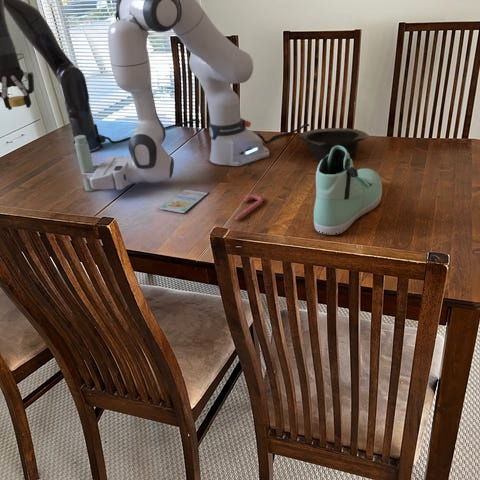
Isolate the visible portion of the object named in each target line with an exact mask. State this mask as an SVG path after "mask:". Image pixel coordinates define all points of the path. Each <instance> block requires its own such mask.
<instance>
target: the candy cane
mask: <svg viewBox="0 0 480 480" xmlns="http://www.w3.org/2000/svg"><path fill="white" fill-rule="evenodd" d="M252 200H255V201H256V202H253V204H251V205H250V206H248V207H247V208H245V209H244V210H243V211H242V212H239V214H237V215H236V216H235V219H234V220H235V221H238V222H239V221H240V220H242V219H243V218H244V217H245V216H247V215H248V214H249V213H251V212H252V211H254V210H255V209H256V208H258V207H259V206H260V205H262V204H263V202H264V199H263V197H262V196H260V195H257V194H251V195H247V196H245V197H243V203H245V204H246V203H248V202H249V201H252Z"/></svg>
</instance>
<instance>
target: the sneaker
mask: <svg viewBox="0 0 480 480" xmlns="http://www.w3.org/2000/svg"><path fill="white" fill-rule="evenodd" d="M317 165H318V166H317V168H316V172H315V201H314V207H313V225H314V229H315V231H316V232H318V233H320V234H323V235H326V236H327V235H328V236H336V235H339V234H342V233H344V232H345V231H347V230H348V229H349V228H350V227H351V226H352V225H353V224H354V222H356V221H357V220H358V219H359V218H360V217H362V216H363V215H365V214H367V213H370V212H372V210H374V209H375V208H377V207H378V205H380V203H381V200H382V196H383V184H382V183H383V182H382V179H381V176H380V175H379V173H378V172H377V171H376V170H374V169H372V168H367V167H365V168H358V169H357V168H355V167H354V161H353V159H352V158H351V156H349V153H348V152H347V150H346V149H345V148H344V147H342V146H334V147H333V148H332V149H331V152H330V154H329V155H327V156H326V157H325V158H324V159H322V160H321V161H319V163H318V164H317ZM343 230H344V231H343ZM319 231H320V232H319ZM322 232H323V233H322ZM339 232H340V233H339ZM326 233H327V234H326ZM328 233H329V234H328ZM335 233H337V234H335Z"/></svg>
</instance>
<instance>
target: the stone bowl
mask: <svg viewBox="0 0 480 480" xmlns="http://www.w3.org/2000/svg"><path fill="white" fill-rule="evenodd" d="M368 138H370V134H368V133H367V132H365V131H363V130H360V129H357V128H356V129H355V128H348V127H347V128H345V127H344V128H343V127H340V128H339V127H327V128H315V129H311V130H307V131H306V130H305V131H303V132H301V133H299V136H298V139H299V140H301V141H304V142H306V143H307V148H308V151H309V152H310V153H311V154H312V155H313V156H315V159H316V161H318V162H320V161H321V160H322V159H324V158H325V157H326V156H327V155H329V154H330V152H331V149H332V148H333V147H334V146H342V147H344V148H345V149H346V150H347V152H348V153H349V156H350V157H354V156H355V155H357V150H358V146H359V145H358V143H359V142H362V141H364V140H366V139H368Z"/></svg>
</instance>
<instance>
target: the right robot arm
mask: <svg viewBox="0 0 480 480" xmlns="http://www.w3.org/2000/svg"><path fill="white" fill-rule="evenodd" d="M114 17H115V21H114V22H112V23H110V25H109V27H108V29H107V43H108V45H107V46H108V53H109V60H110V66H111V71H112V75H113V77H114V80H115V82H116V85H117V86H118V87H119V88H121V90H123V91H125V92H127V93H129V94H131V96H132V98H133V102H134V107H135V111H136V115H137V123H136V127H135V128H134V131H133V133H132V135H131V136H130V137H131V138H130V139H129V140H128V146H127V147H128V152H129V155H130V156H124V155H107V156H105V157H104V158H103V160H102V161H101V162H100V163H96V164H93V167H94V173H92V174H91V173H88V172H84V173H83V174H82V173H81V178H82V180H83V179H89V180H90V184H91V187H92V188H93V189H97V190H112V189H116V190H117V191H118V190H119V191H120V190H123V189H125V188H126V187H127V186H130V185H131V184H139V183H142V182H143V183H149V184H150V183H159V182H165V181H168V180H170V179H171V178H172V177H173V174H174V169H175V168H174V167H175V161H174V157H173V156H171V155H170V154H169V153H168V152H167V151H166V149H165V148H164V147H163V145H162V144H163V142H164V141H165V139H166V129H165V128H164V127H165V126H164V124H163V123H162V121H161V119H160V118H159V115H158V112H157V109H156V103H155V98H154V93H153V88H152V74H151V73H152V70H151V62H150V56H149V51H148V36H149V34H150V32H155V33H165V32H168V31H171V30H172V31H173V33H174V34H175V35H176V36H177V38H178V39H179V41H181V43H182V44H183V45H184V47H185V48H186V49H187V51H189V53H190V56H189V60H188V61H189V62H188V64H189V69H190V71H191V73H192V74H193V75H194V76H195V78H196V79H198V82H199V83H200V85H201V87H202V89H203V92H204V95H205V97H206V101H207V107H208V115H209V122H208V130H209V136H210V154H209V161H210V162H211V163H212V164H215V165H218V166H232V167H241V166H243V165H247V164H249V163H253V162H256V161H259V160H261V159H264V158H267V157H270V156H271V153H270V150H269V148H267V147H266V146H264V144H268V143H270V142H272V141H273V140H274V139H277V138H279V137H280V138H281V137H285V136H289V135H291V134H292V135H293V134H294V133H297V132H298V131H300V130H303V129H304V128H305V127H306V126H307V127H310V124H309V123H307V122H306V123H304V124H302V125H301V126H300V127H298V128H296V129H294V130H292V131H289V132H286V133H285V132H284V133H281V134H276V135H274V136H272V137H271V138H270V139H269V140H266V139H265V138H264V136H262V135H261V133H260V132H254V131H252V130H250V129H248V128H250V127H251V121H249V120H246V119H244V118H242V117H241V105H240V103H241V102H240V97H239V96H238V94H237V93H236V92H235V91H234V90H233V88H232V87H231V85H235V84H236V85H237V84H243V83H246V82H248V81H249V79H250V78H251V77H252V75H253V73H254V72H253V71H254V60H253V58H252V56H251V55H250V54H249V52H246V51H244V50H242V49H241V48H240V47H238V46H237V45H236V44H234V43H233V42H232V41H231V40H230V39H229V38H227V36H225V34H223V33H222V32H221V31H220V30H219V29H218V28H217V27H216V25H215V24H214V23H213V22H212V20H211V19H210V17H209V16H208V14H207V13H206V12H205V10H204V9H203V7H202V6H201V4H200V3H199V2H198V1H197V0H116V3H115V15H114ZM263 143H264V144H263Z"/></svg>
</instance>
